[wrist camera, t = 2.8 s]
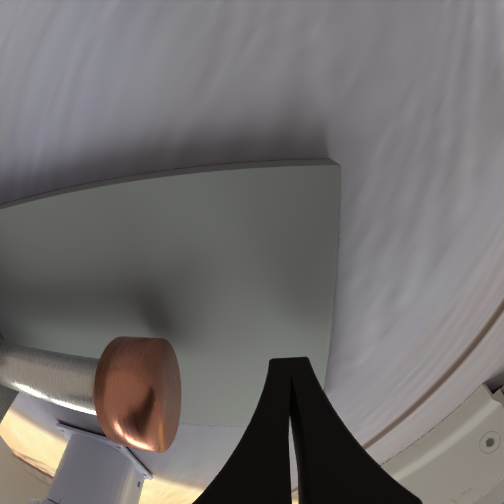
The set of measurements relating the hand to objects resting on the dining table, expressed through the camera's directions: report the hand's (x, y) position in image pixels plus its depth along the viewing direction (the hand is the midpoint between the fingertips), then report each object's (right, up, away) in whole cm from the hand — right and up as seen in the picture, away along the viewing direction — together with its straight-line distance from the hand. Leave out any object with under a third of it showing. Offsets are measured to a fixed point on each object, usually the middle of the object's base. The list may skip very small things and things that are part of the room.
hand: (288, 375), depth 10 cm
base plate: (-11, +1, +4) cm, 12 cm away
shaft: (-12, 0, +2) cm, 12 cm away
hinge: (+17, -14, +10) cm, 24 cm away
